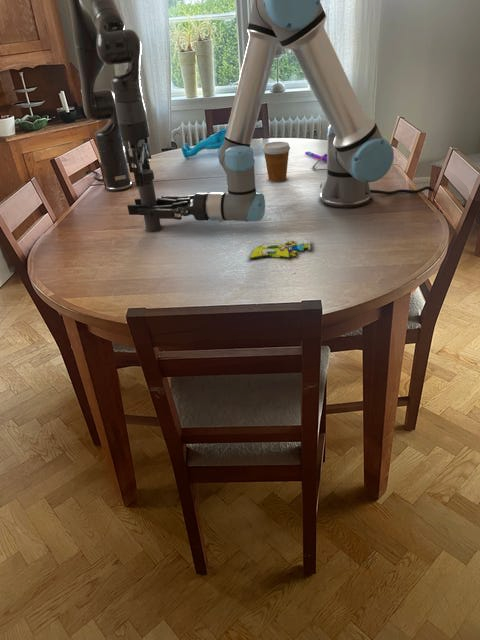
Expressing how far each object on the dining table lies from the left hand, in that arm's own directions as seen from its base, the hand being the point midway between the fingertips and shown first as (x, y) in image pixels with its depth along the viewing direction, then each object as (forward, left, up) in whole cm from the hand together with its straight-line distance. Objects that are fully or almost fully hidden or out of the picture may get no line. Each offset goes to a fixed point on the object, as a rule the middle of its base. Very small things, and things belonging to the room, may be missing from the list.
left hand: (144, 181), depth 134 cm
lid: (0, 0, +2) cm, 2 cm away
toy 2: (+42, 0, -14) cm, 45 cm away
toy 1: (-28, +75, -14) cm, 82 cm away
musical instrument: (+21, +77, -14) cm, 81 cm away
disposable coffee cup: (+13, +53, -14) cm, 57 cm away
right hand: (-5, -2, -7) cm, 9 cm away
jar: (0, 0, -14) cm, 14 cm away
